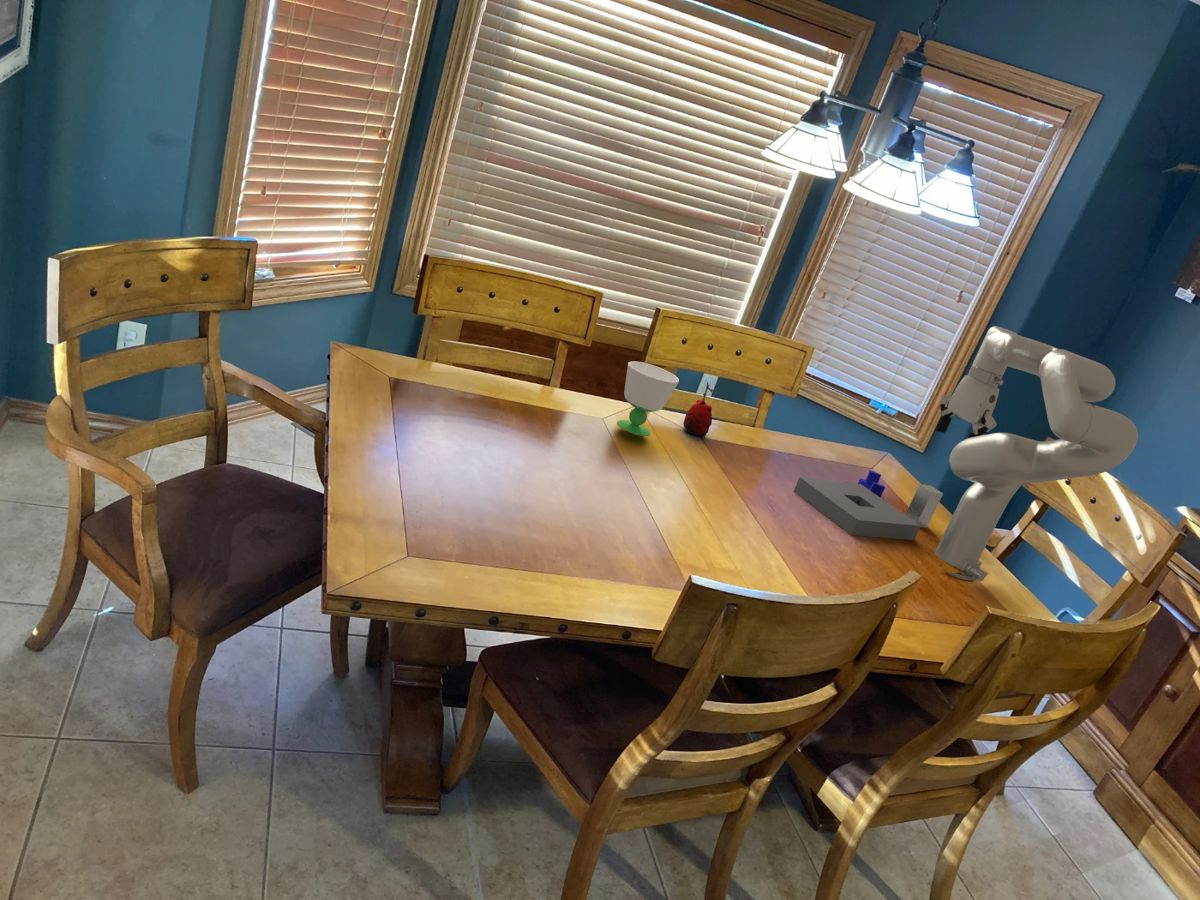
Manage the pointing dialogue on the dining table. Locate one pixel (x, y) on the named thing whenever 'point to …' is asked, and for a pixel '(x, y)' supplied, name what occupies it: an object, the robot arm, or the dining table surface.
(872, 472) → the blue stepped block
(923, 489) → the metal bar
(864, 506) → the well block
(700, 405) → the red fruit with stem
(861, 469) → the dining table surface
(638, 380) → the cup
